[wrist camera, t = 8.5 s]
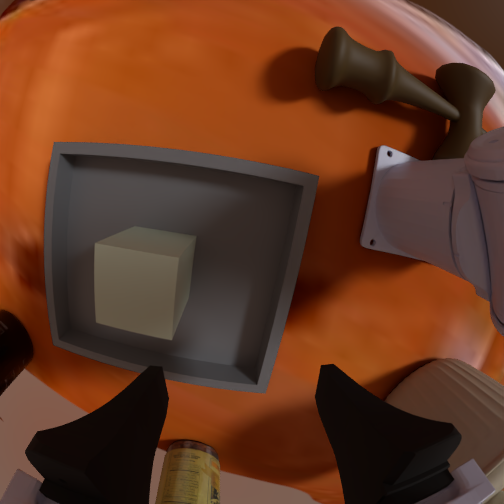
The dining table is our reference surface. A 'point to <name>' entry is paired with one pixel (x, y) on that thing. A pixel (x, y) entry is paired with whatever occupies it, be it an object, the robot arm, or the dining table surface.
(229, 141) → the dining table surface
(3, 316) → the supplement bottle
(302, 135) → the dining table surface
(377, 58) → the kendama
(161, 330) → the beige block
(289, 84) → the dining table surface
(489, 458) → the canister
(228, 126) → the dining table surface
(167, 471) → the sauce bottle
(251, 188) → the tray
